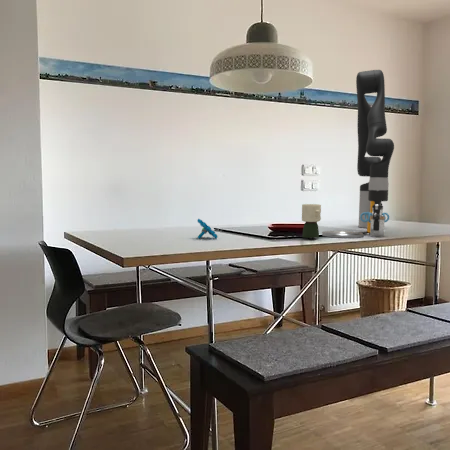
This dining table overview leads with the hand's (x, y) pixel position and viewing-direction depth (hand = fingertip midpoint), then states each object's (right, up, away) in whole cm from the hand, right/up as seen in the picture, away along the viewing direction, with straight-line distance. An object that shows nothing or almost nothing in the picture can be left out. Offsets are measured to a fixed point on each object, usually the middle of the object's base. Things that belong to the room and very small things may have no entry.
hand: (376, 229), depth 198 cm
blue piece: (-68, -3, -12) cm, 69 cm away
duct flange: (-14, -3, 0) cm, 14 cm away
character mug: (-28, -4, -10) cm, 30 cm away
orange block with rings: (+3, -2, +14) cm, 15 cm away
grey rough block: (0, -3, 0) cm, 3 cm away
